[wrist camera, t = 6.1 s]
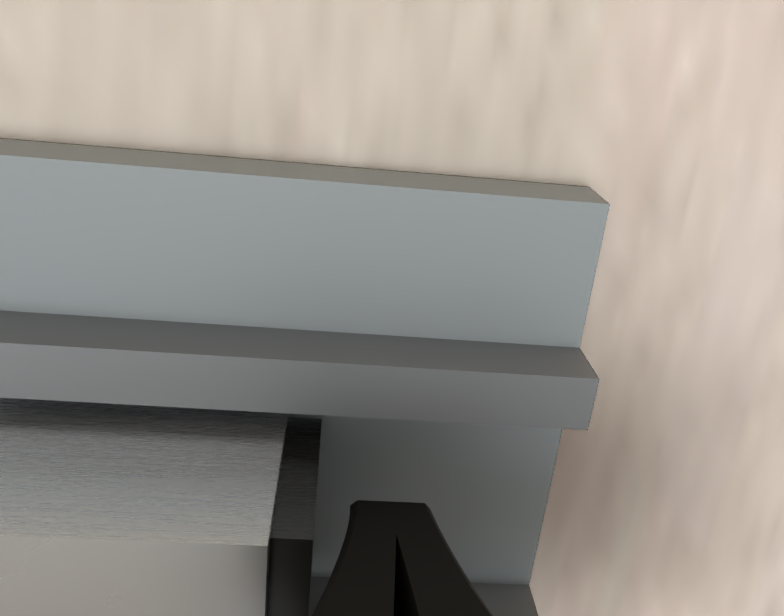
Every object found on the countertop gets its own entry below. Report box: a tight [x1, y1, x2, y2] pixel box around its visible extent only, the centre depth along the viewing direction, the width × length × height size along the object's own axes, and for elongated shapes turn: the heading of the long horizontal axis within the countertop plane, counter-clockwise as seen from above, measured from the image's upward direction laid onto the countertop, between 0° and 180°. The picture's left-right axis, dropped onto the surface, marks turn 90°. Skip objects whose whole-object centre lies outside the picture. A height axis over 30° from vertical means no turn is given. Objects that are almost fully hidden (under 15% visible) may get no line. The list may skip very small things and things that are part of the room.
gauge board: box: [0, 138, 610, 616], centre depth 13 cm, size 12×18×5 cm, turn 85°
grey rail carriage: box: [0, 398, 322, 616], centre depth 12 cm, size 4×6×4 cm
